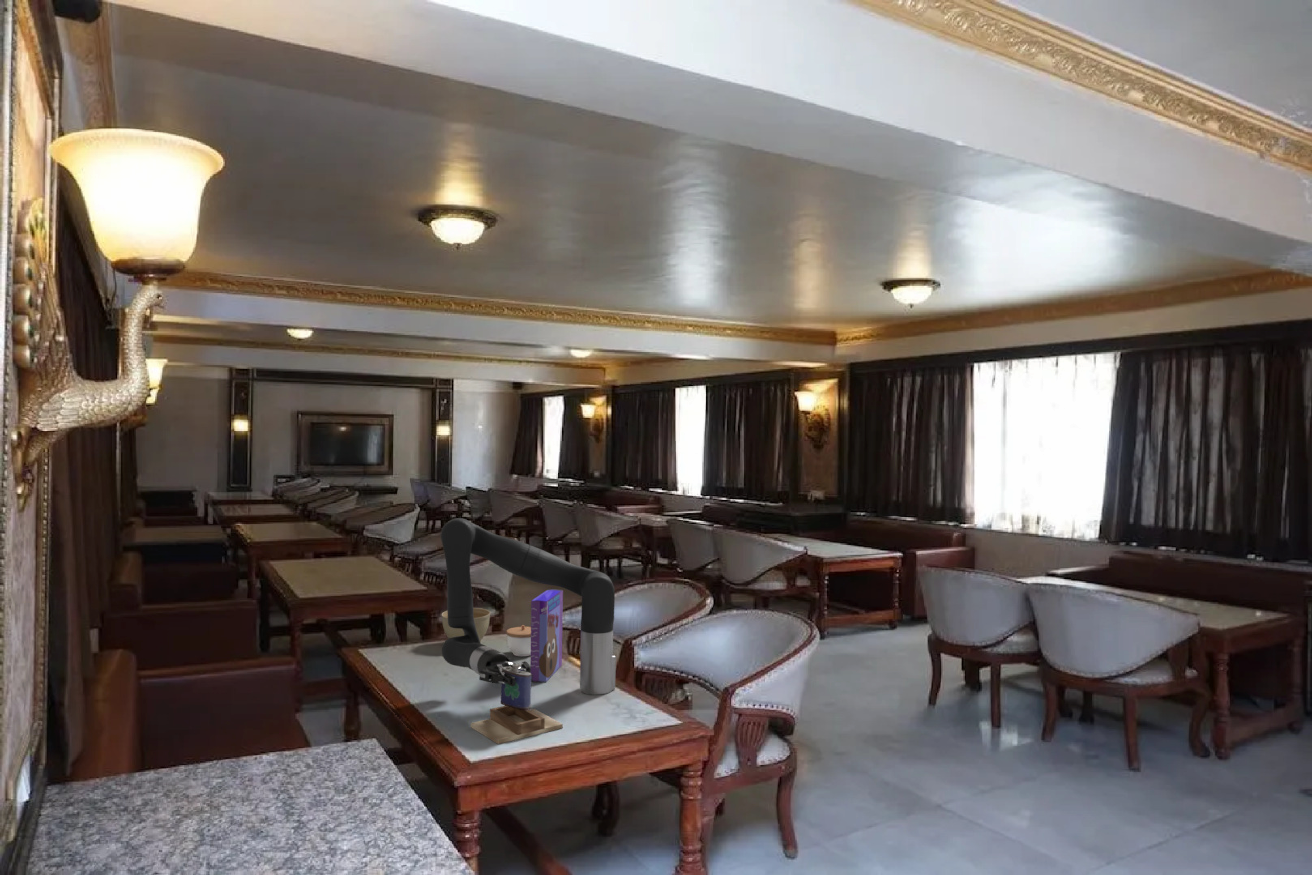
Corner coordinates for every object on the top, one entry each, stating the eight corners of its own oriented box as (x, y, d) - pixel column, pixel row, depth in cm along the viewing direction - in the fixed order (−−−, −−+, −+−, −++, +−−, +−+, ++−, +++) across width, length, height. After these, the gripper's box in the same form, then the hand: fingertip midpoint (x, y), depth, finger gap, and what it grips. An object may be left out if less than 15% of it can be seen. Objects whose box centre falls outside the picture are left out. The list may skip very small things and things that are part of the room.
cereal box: (545, 682, 251) (547, 600, 250) (530, 681, 251) (531, 600, 251) (561, 665, 268) (562, 589, 267) (547, 664, 269) (548, 588, 268)
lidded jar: (542, 656, 278) (543, 627, 277) (509, 659, 274) (510, 630, 274) (534, 648, 288) (535, 620, 287) (503, 651, 284) (503, 622, 283)
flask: (532, 708, 212) (533, 665, 211) (524, 712, 210) (525, 668, 209) (505, 700, 217) (506, 658, 217) (497, 703, 215) (497, 661, 214)
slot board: (533, 712, 225) (533, 699, 225) (562, 727, 214) (562, 714, 214) (470, 726, 213) (471, 713, 213) (498, 744, 202) (498, 729, 202)
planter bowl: (439, 640, 296) (440, 609, 296) (487, 637, 301) (487, 606, 301) (442, 652, 281) (443, 619, 280) (492, 649, 286) (493, 616, 285)
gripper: (464, 653, 220) (496, 669, 207) (513, 645, 229) (547, 660, 215) (464, 682, 220) (496, 700, 207) (513, 673, 229) (546, 690, 216)
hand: (522, 680), depth 211 cm, fingers open, 4 cm apart
